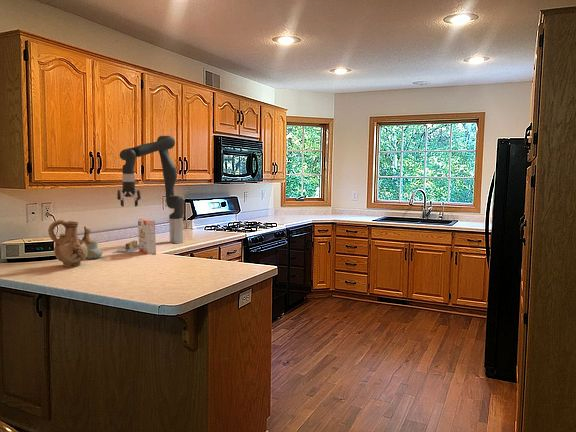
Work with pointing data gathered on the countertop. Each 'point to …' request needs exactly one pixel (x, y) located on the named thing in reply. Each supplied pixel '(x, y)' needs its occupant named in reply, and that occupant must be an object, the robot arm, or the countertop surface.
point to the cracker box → (147, 236)
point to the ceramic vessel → (70, 243)
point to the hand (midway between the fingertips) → (129, 206)
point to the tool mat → (129, 251)
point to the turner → (129, 246)
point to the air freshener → (93, 251)
